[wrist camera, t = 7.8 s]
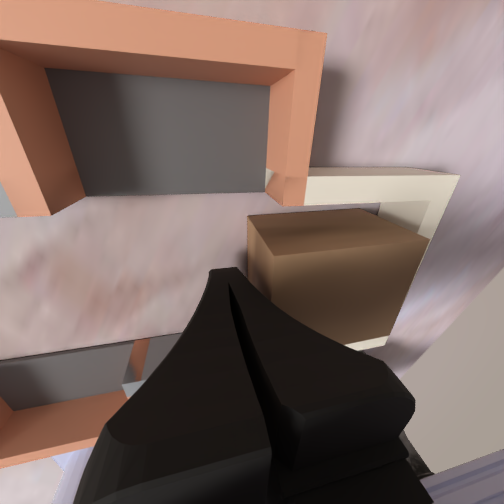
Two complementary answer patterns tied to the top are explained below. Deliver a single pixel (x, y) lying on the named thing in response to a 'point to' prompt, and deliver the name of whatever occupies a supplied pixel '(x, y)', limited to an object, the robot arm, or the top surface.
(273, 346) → the robot arm
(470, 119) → the top surface
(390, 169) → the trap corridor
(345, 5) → the top surface
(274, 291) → the walnut block
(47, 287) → the top surface
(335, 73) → the top surface
